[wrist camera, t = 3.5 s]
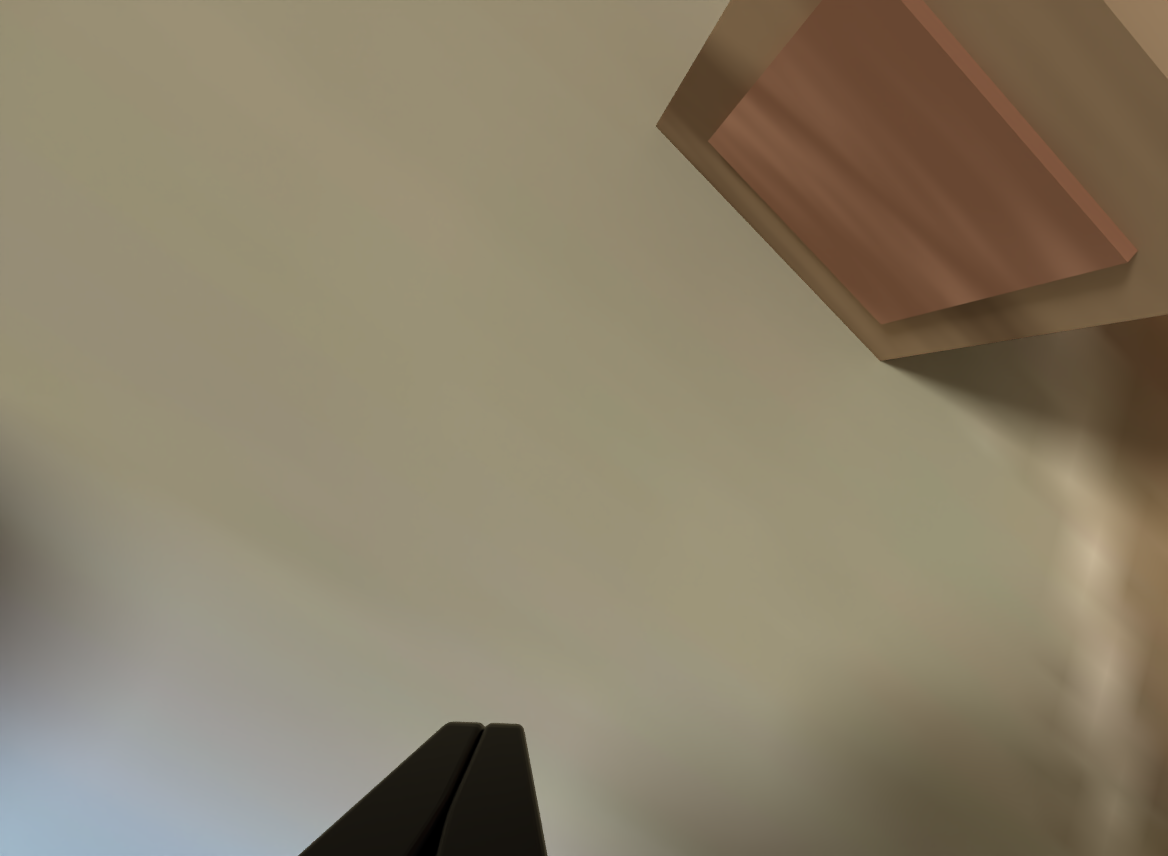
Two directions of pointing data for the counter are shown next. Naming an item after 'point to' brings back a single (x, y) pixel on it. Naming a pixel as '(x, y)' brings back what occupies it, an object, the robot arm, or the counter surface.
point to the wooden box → (944, 159)
